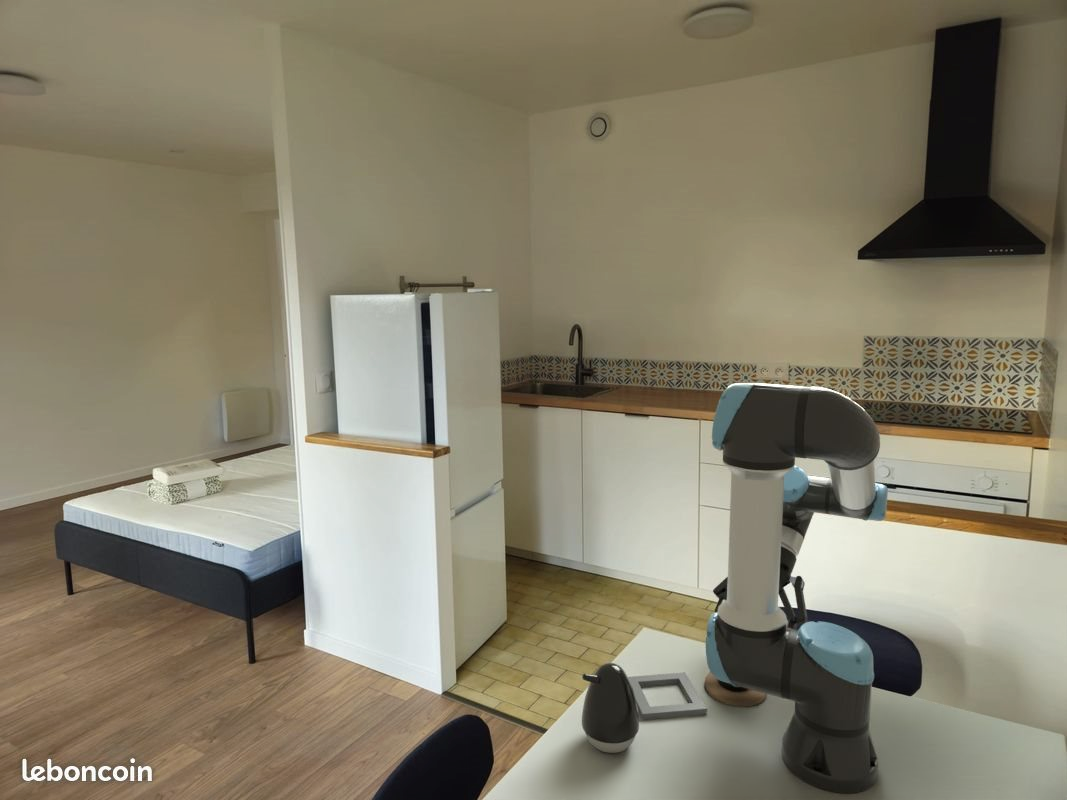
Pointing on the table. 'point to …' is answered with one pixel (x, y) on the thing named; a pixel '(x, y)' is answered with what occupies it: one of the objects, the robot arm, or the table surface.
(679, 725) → the table surface
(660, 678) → the grey flat square frame
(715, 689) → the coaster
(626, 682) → the pump dispenser
